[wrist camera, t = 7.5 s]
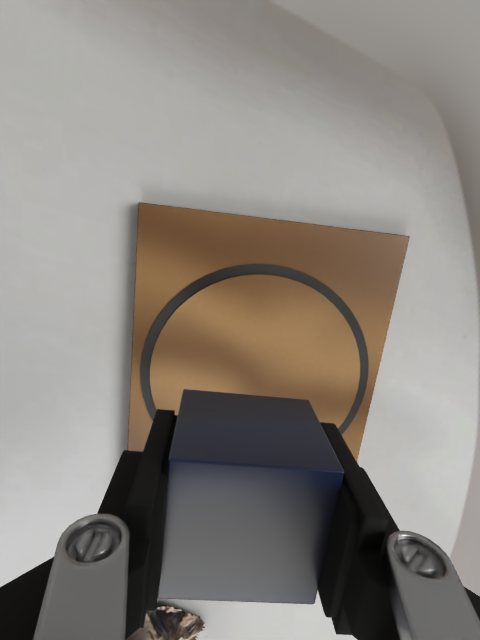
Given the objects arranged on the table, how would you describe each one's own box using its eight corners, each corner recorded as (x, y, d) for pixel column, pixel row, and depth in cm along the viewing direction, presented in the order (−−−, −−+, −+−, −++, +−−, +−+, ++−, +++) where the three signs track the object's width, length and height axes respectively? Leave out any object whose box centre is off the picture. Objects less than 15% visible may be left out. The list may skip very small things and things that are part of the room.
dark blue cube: (183, 388, 11) (168, 459, 8) (309, 399, 12) (345, 471, 8) (173, 496, 12) (156, 599, 9) (289, 503, 13) (314, 605, 9)
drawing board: (141, 202, 21) (137, 202, 21) (403, 235, 23) (411, 236, 22) (127, 490, 27) (124, 501, 26) (341, 503, 28) (346, 513, 27)
